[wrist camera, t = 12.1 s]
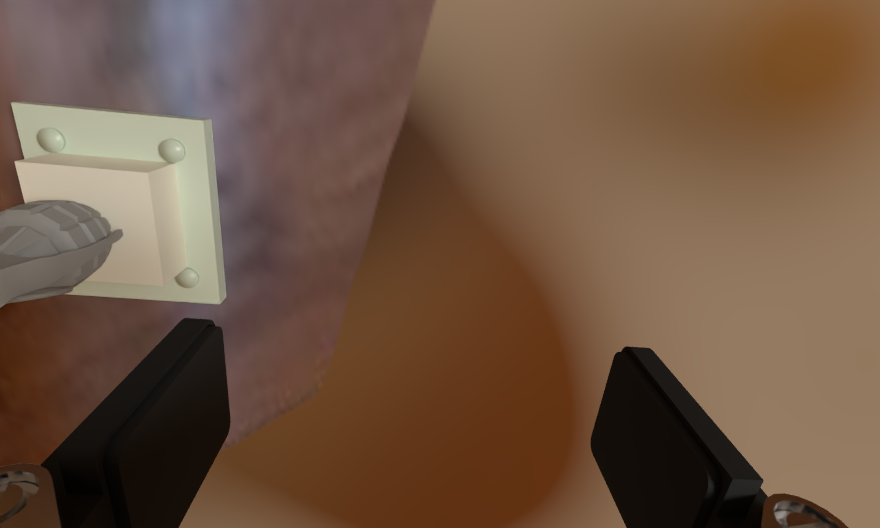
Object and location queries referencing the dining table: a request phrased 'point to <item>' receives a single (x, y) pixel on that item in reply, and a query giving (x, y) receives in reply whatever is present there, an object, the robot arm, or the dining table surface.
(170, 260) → the cream brick
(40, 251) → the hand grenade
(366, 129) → the dining table surface
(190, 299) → the base plate
